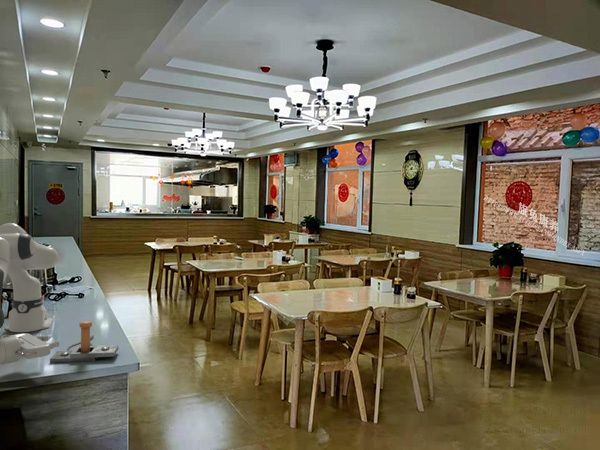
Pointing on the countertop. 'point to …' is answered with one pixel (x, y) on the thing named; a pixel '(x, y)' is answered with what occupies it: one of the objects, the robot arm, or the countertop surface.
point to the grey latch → (84, 354)
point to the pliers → (80, 343)
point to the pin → (85, 335)
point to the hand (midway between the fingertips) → (53, 340)
